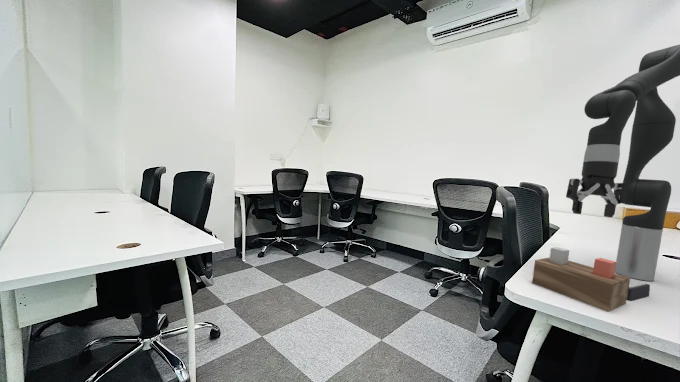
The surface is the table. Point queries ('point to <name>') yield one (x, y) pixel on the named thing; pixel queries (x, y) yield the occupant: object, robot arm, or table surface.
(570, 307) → the table surface
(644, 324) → the table surface
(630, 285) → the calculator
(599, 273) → the red plug
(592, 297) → the block
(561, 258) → the grey plug
